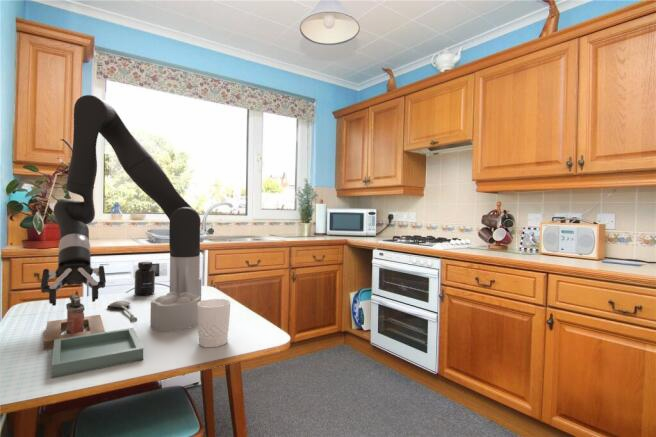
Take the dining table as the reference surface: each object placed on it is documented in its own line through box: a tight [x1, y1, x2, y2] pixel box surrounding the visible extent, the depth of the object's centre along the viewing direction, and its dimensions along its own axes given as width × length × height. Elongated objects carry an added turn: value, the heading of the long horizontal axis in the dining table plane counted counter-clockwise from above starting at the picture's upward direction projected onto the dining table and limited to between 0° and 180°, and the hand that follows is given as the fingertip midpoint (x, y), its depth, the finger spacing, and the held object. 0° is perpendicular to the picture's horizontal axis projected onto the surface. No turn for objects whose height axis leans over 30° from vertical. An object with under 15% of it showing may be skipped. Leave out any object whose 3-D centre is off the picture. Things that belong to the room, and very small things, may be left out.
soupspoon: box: [107, 300, 138, 322], centre depth 113 cm, size 22×3×7 cm
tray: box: [51, 327, 145, 379], centre depth 81 cm, size 16×16×2 cm
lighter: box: [65, 293, 85, 334], centre depth 93 cm, size 8×3×10 cm, turn 47°
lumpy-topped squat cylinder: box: [150, 291, 202, 334], centre depth 103 cm, size 10×13×9 cm
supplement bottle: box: [133, 261, 156, 297], centre depth 137 cm, size 7×7×12 cm
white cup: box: [197, 298, 231, 348], centre depth 90 cm, size 8×8×10 cm
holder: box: [43, 314, 106, 351], centre depth 93 cm, size 12×17×2 cm
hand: (74, 302), depth 95 cm, fingers open, 8 cm apart
